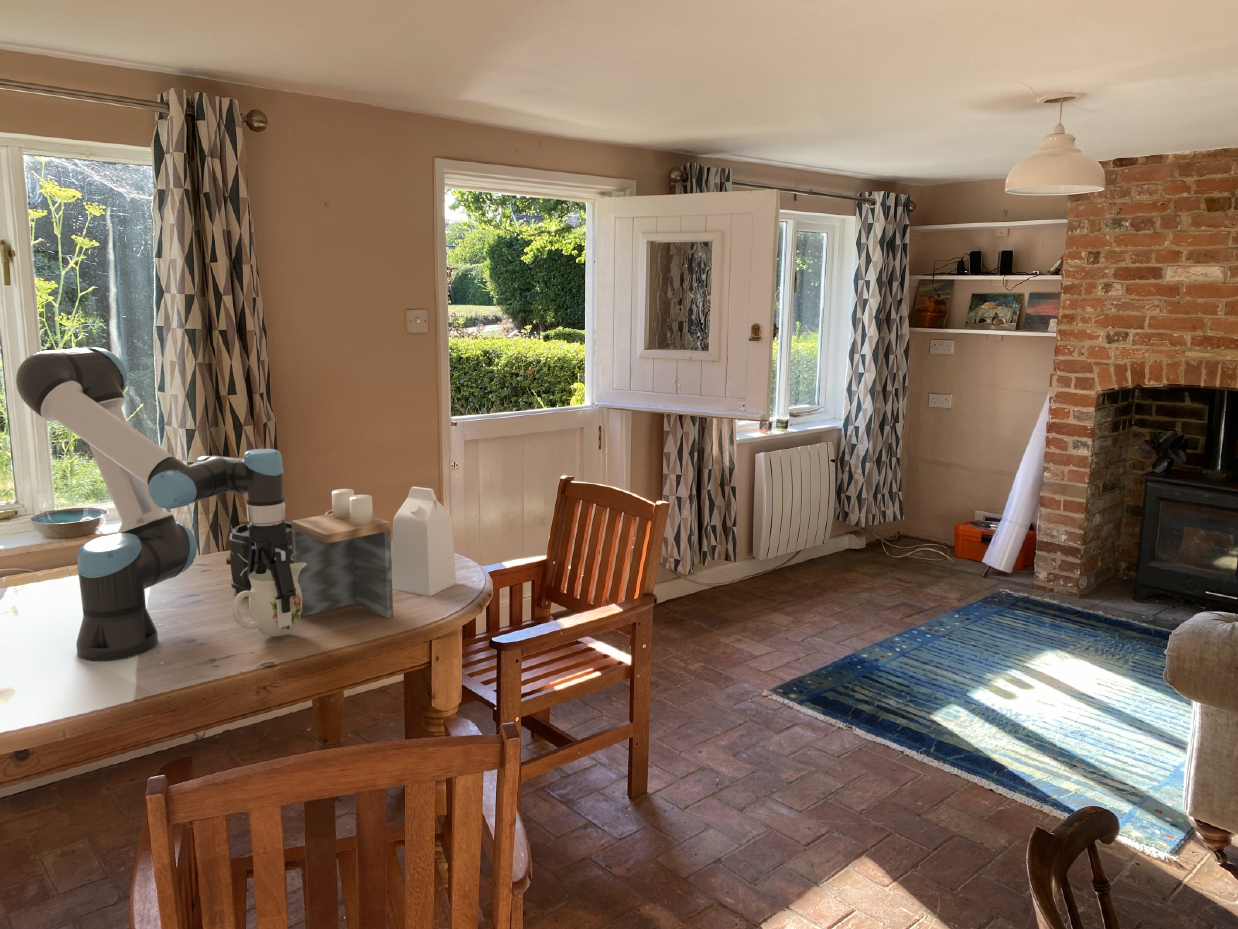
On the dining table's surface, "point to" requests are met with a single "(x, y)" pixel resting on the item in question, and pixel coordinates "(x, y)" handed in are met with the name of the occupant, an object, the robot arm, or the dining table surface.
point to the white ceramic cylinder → (341, 503)
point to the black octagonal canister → (241, 555)
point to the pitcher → (269, 603)
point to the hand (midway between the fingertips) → (272, 618)
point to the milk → (422, 545)
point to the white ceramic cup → (361, 510)
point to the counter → (343, 564)
